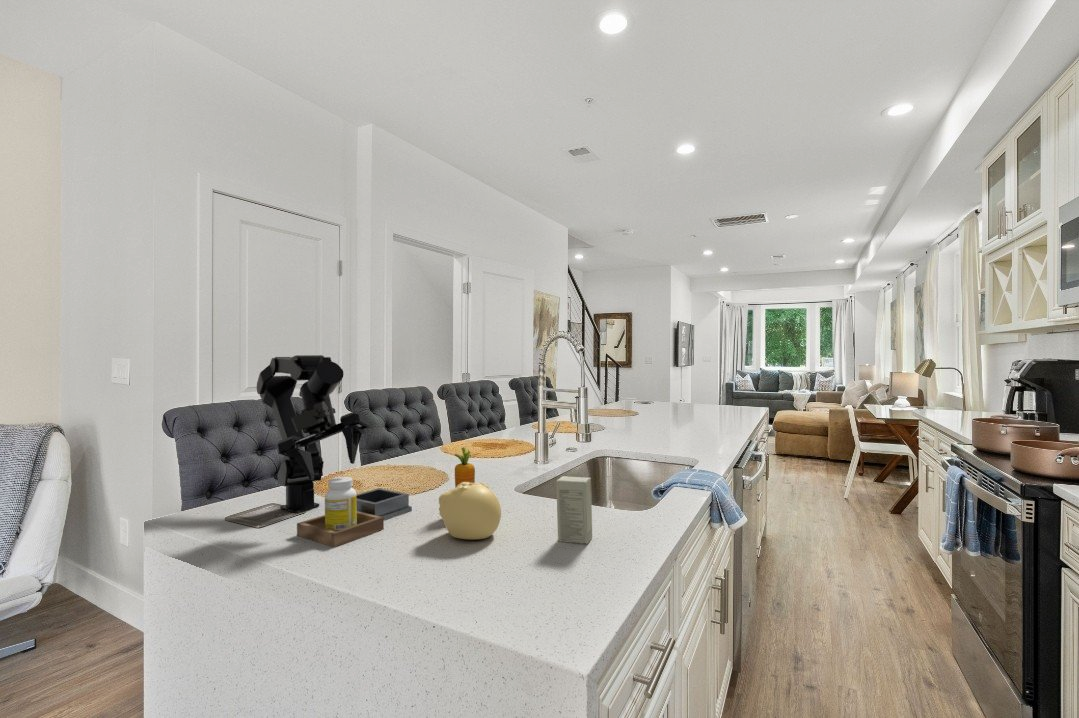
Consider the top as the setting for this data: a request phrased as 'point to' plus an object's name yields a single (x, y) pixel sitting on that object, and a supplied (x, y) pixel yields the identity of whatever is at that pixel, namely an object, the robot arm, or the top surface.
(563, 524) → the skincare box
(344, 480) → the pill bottle
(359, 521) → the walnut collar
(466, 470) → the carrot
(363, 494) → the dark metal seat block
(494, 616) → the top surface
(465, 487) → the sculpture
